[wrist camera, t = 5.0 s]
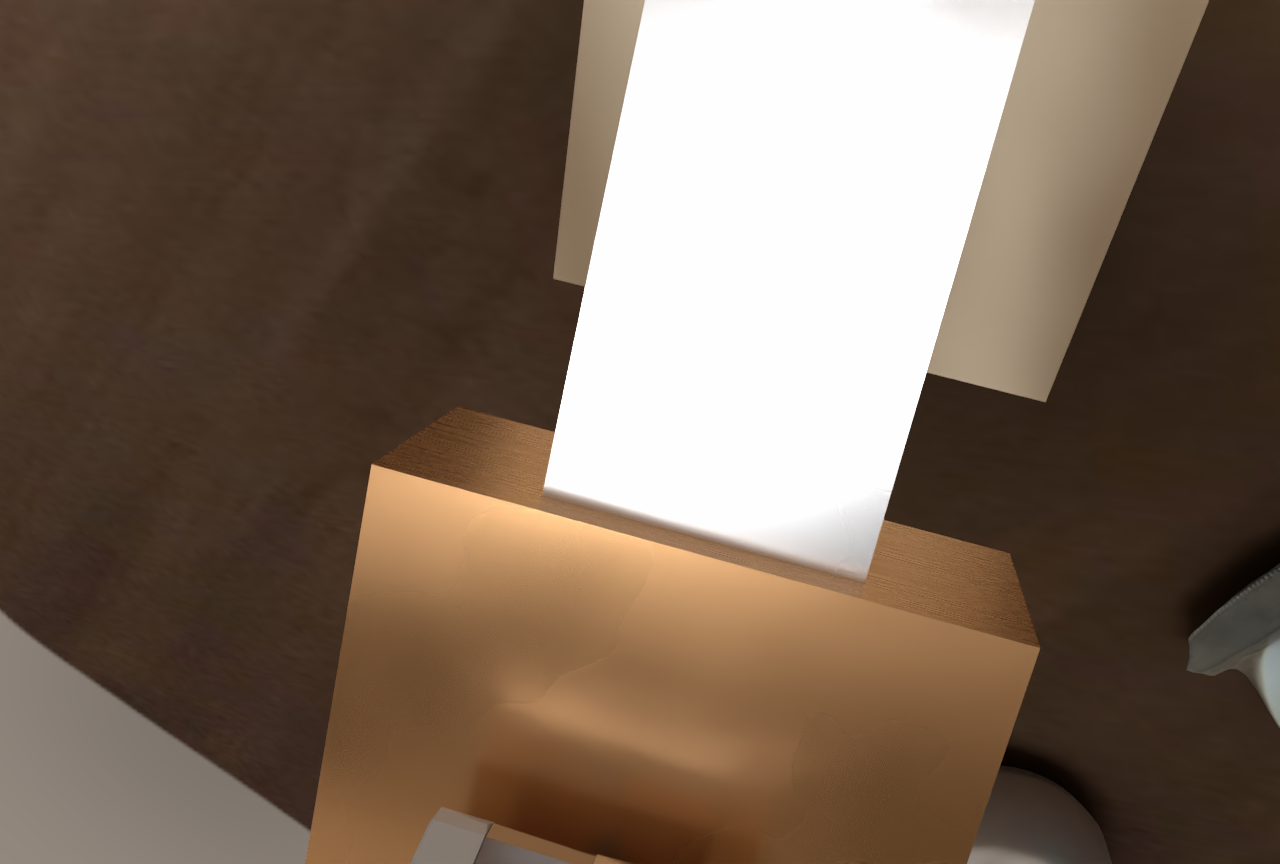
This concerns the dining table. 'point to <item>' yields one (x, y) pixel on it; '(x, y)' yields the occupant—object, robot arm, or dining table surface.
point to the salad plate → (1244, 639)
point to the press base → (1012, 183)
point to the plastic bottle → (1036, 824)
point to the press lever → (711, 488)
